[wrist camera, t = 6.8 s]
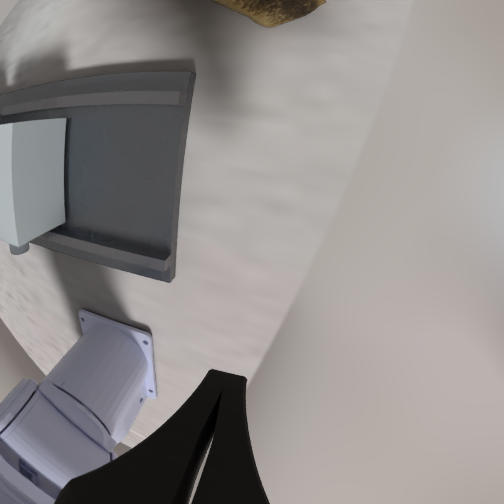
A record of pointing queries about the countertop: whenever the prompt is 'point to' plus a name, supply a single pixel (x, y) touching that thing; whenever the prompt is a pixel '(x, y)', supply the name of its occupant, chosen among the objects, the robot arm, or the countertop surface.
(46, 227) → the pale blue-grey box
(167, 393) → the countertop surface
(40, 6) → the countertop surface
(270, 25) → the rock
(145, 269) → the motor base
